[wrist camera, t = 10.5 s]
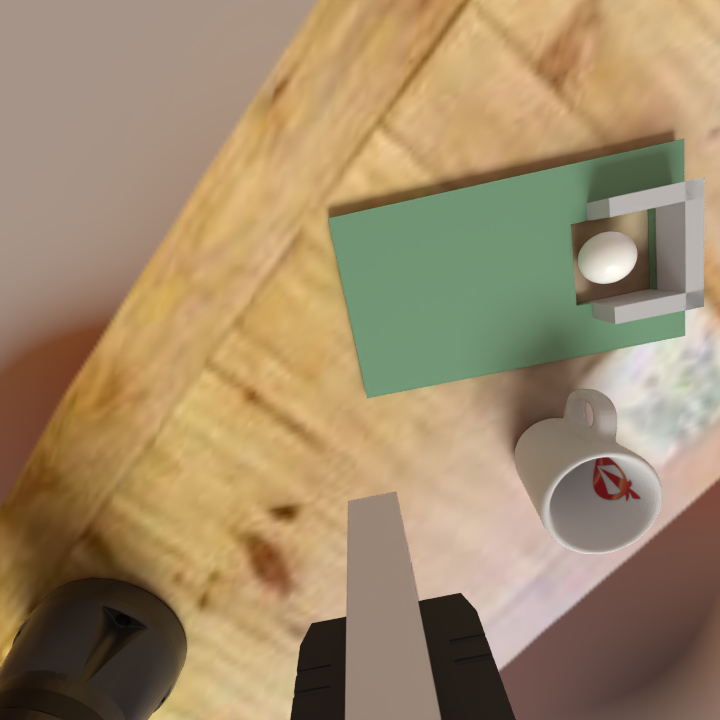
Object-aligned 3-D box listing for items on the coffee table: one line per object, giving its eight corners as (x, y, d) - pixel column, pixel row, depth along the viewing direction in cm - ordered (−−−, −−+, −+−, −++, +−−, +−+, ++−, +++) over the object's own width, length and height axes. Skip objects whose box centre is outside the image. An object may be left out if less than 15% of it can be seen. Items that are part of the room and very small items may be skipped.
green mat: (367, 394, 33) (367, 398, 32) (328, 219, 29) (327, 218, 29) (677, 333, 32) (685, 335, 31) (675, 141, 28) (684, 138, 27)
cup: (513, 370, 32) (561, 406, 25) (611, 374, 32) (689, 412, 25) (495, 488, 35) (534, 553, 27) (586, 491, 35) (649, 558, 27)
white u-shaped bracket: (587, 316, 31) (615, 324, 28) (580, 204, 29) (609, 198, 26) (666, 301, 31) (703, 306, 28) (664, 186, 29) (704, 177, 25)
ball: (623, 287, 26) (648, 275, 28) (620, 231, 26) (646, 223, 27) (569, 290, 29) (595, 279, 31) (565, 240, 29) (592, 232, 30)
